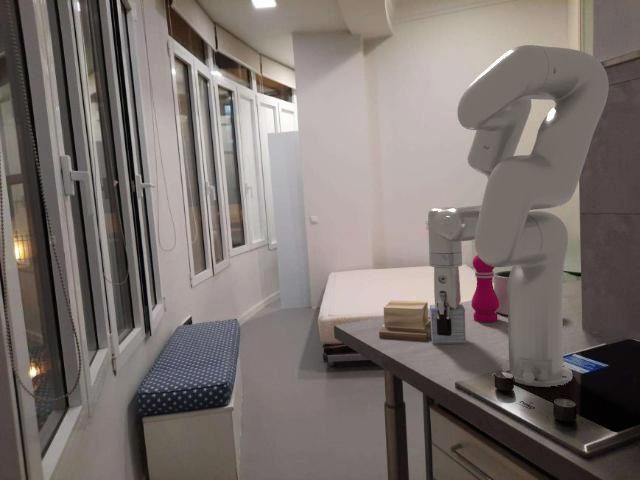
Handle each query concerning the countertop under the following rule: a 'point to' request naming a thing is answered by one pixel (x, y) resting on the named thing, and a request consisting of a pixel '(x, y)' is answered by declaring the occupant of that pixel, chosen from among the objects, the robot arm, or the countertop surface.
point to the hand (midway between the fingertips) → (447, 329)
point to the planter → (502, 291)
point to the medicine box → (456, 326)
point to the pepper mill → (484, 293)
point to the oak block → (406, 314)
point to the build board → (407, 332)
